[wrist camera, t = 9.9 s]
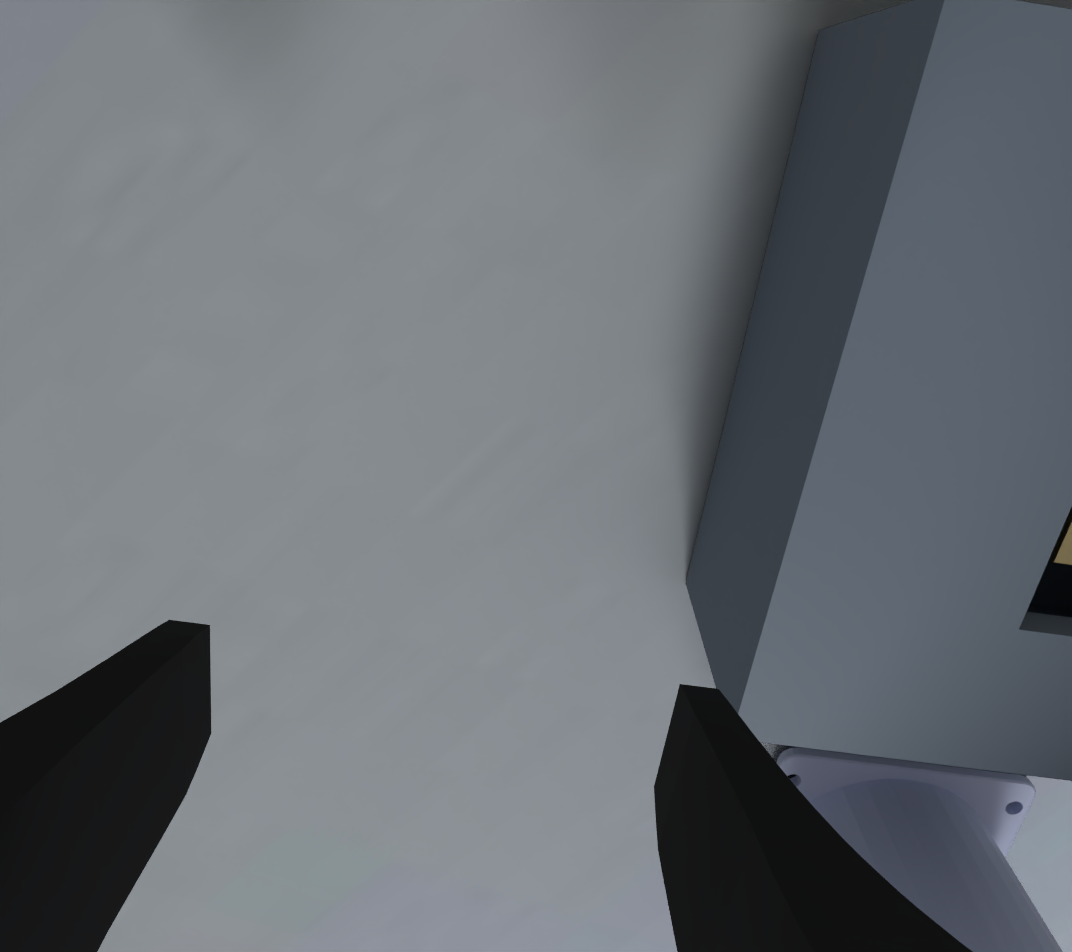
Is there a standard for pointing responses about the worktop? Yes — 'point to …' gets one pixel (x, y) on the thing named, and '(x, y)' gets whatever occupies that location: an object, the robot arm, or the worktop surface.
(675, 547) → the worktop surface
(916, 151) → the slot box
